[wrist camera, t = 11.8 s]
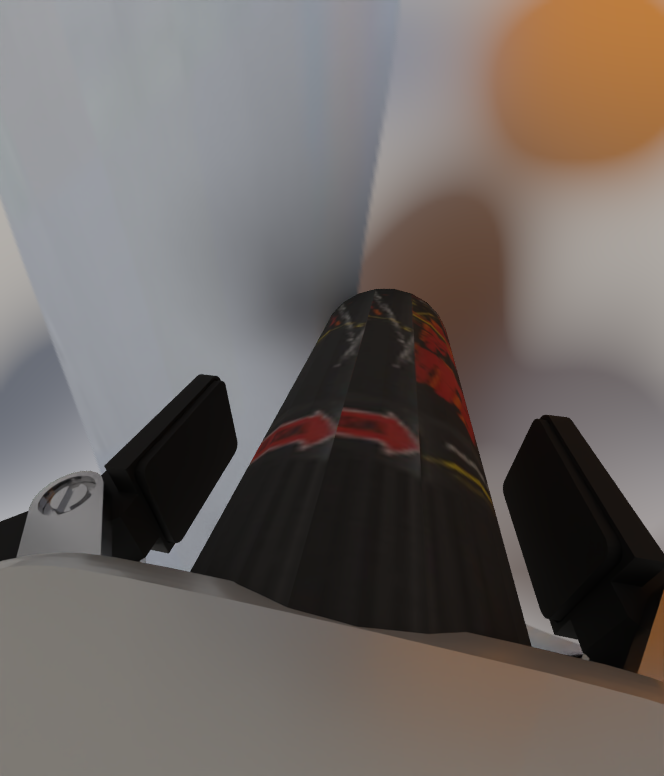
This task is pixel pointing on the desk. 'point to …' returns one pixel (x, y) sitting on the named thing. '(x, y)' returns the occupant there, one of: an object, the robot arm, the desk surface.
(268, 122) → the desk surface
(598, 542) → the robot arm
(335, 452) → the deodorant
